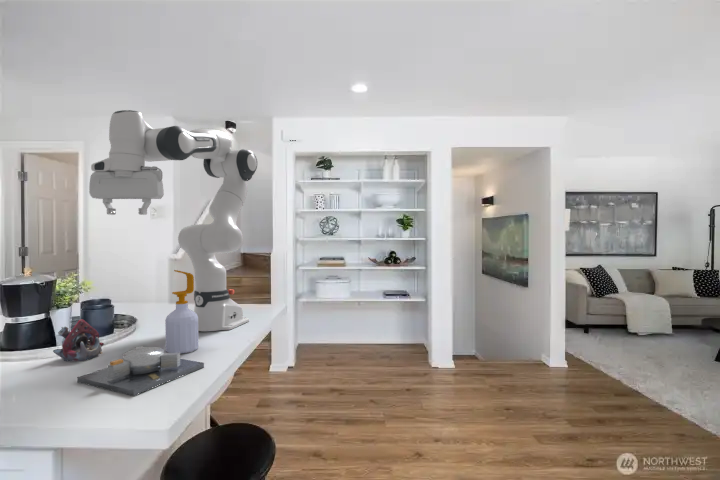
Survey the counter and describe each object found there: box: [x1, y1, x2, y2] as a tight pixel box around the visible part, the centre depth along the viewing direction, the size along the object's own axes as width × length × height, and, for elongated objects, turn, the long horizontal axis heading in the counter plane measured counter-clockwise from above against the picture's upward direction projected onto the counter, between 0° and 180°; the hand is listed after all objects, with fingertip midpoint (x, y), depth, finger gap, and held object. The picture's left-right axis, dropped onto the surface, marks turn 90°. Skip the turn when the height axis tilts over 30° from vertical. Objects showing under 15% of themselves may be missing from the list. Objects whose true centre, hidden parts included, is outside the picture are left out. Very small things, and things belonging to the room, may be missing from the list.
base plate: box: [76, 358, 205, 397], centre depth 99 cm, size 20×20×1 cm
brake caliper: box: [52, 319, 104, 362], centre depth 113 cm, size 11×11×12 cm
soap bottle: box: [164, 269, 199, 355], centre depth 119 cm, size 9×9×25 cm
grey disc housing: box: [107, 345, 181, 379], centre depth 97 cm, size 14×16×4 cm
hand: (126, 214), depth 112 cm, fingers open, 8 cm apart
